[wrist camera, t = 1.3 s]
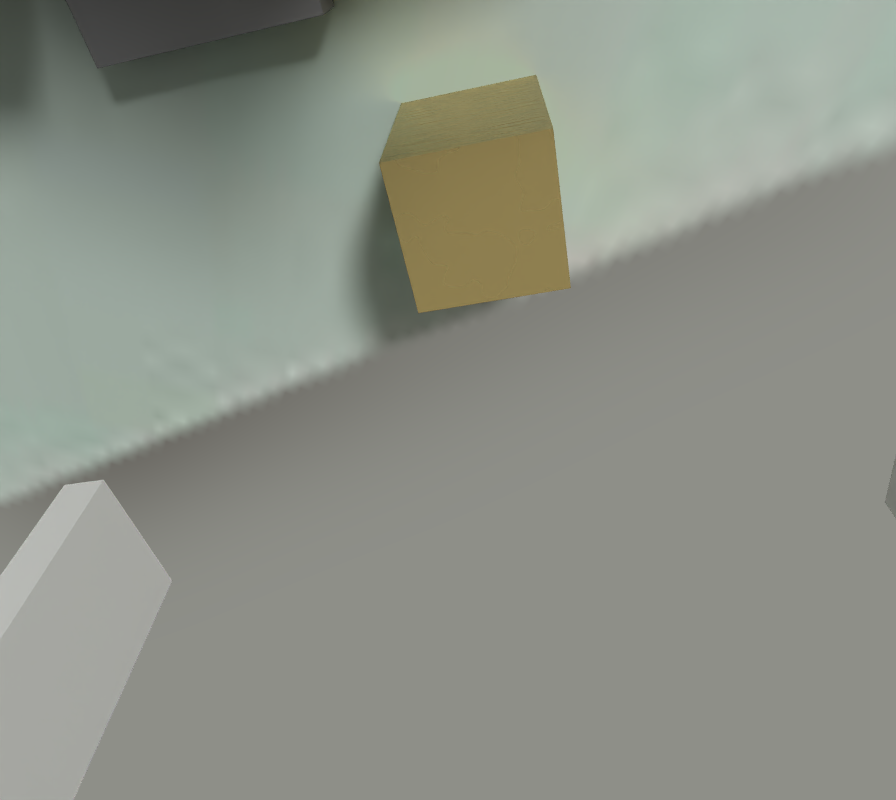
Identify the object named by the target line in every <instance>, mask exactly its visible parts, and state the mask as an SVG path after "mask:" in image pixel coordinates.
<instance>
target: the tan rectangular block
mask: <svg viewBox="0 0 896 800" xmlns="http://www.w3.org/2000/svg"><path fill="white" fill-rule="evenodd" d="M379 164H380V168H381V172H382V176H383V180H384V183H385V187H386V191H387V195H388V199H389V203H390V206H391V210H392V214H393V218H394V222H395V225H396V229H397V233H398V237H399V241H400V245H401V248H402V252H403V256H404V260H405V264H406V267H407V271H408V275H409V279H410V283H411V287H412V290H413V294H414V298H415V302H416V306H417V310H418V313H422V312H428V311H434V310H441V309H447V308H453V307H459V306H465V305H471V304H477V303H483V302H489V301H495V300H501V299H508V298H514V297H520V296H526V295H532V294H538V293H544V292H550V291H556V290H562V289H568V288H571V287H570V277H569V268H568V259H567V250H566V241H565V232H564V223H563V214H562V205H561V196H560V186H559V177H558V168H557V159H556V150H555V141H554V132H553V126H552V123H551V120H550V117H549V114H548V111H547V108H546V104H545V101H544V98H543V95H542V92H541V89H540V86H539V83H538V79H537V76H536V75H533V76H528V77H524V78H519V79H514V80H509V81H505V82H500V83H495V84H491V85H486V86H481V87H477V88H472V89H467V90H462V91H458V92H453V93H448V94H444V95H439V96H434V97H429V98H425V99H420V100H415V101H411V102H406V103H401V105H400V108H399V111H398V114H397V116H396V119H395V122H394V124H393V127H392V130H391V132H390V135H389V138H388V140H387V143H386V146H385V148H384V151H383V154H382V157H381V159H380V162H379Z"/></svg>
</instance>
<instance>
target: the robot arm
mask: <svg viewBox="0 0 896 800" xmlns="http://www.w3.org/2000/svg"><path fill="white" fill-rule="evenodd" d="M885 503H886V505H887V506H888V508H889V509H890V511H891V512H892V514H893V515H894V517H895V518H896V457H895V461H894V465H893V470H892V474H891V478H890V482H889V487H888V491H887V495H886V500H885ZM171 582H172V579H171V578H170V577H169V575H168V574H167V572H166V571H165V569H164V568H163V566H162V565H161V563H160V562H159V561H158V559H157V558H156V556H155V555H154V553H153V552H152V550H151V549H150V547H149V546H148V544H147V543H146V541H145V540H144V538H143V537H142V535H141V534H140V532H139V531H138V530H137V528H136V527H135V525H134V524H133V522H132V521H131V519H130V518H129V516H128V515H127V513H126V512H125V511H124V509H123V508H122V506H121V505H120V503H119V502H118V500H117V499H116V497H115V496H114V494H113V493H112V491H111V490H110V488H109V487H108V485H107V484H106V483H105V481H104V480H99V481H91V482H84V483H76V484H69V485H64V487H63V488H62V490H61V491H60V492H59V494H58V495H57V496H56V498H55V499H54V501H53V502H52V503H51V505H50V506H49V508H48V509H47V511H46V512H45V513H44V515H43V516H42V518H41V519H40V520H39V522H38V523H37V525H36V526H35V528H34V529H33V531H32V532H31V533H30V535H29V536H28V537H27V539H26V540H25V542H24V543H23V544H22V546H21V547H20V549H19V550H18V552H17V553H16V554H15V556H14V557H13V559H12V560H11V562H10V563H9V564H8V566H7V567H6V568H5V570H4V571H3V573H2V574H1V575H0V800H74V798H75V795H76V793H77V791H78V789H79V786H80V784H81V782H82V780H83V778H84V775H85V773H86V771H87V769H88V766H89V764H90V762H91V760H92V758H93V755H94V753H95V751H96V749H97V747H98V744H99V742H100V740H101V738H102V735H103V733H104V731H105V729H106V726H107V724H108V722H109V720H110V718H111V715H112V713H113V711H114V709H115V706H116V704H117V702H118V700H119V698H120V696H121V693H122V691H123V689H124V687H125V684H126V682H127V680H128V678H129V675H130V673H131V671H132V669H133V667H134V665H135V662H136V660H137V658H138V656H139V653H140V651H141V649H142V647H143V645H144V642H145V640H146V638H147V636H148V634H149V631H150V629H151V627H152V625H153V622H154V620H155V618H156V616H157V614H158V611H159V609H160V607H161V605H162V602H163V600H164V598H165V596H166V594H167V591H168V589H169V587H170V585H171Z"/></svg>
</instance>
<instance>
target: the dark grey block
mask: <svg viewBox="0 0 896 800" xmlns="http://www.w3.org/2000/svg"><path fill="white" fill-rule="evenodd" d="M66 2H67V4H68V6H69V8H70V10H71V12H72V15H73V17H74V19H75V21H76V23H77V25H78V27H79V30H80V32H81V34H82V36H83V38H84V40H85V43H86V45H87V47H88V49H89V51H90V53H91V55H92V58H93V60H94V62H95V64H96V66H97V68H101V67H105V66H110V65H114V64H118V63H122V62H126V61H131V60H135V59H139V58H143V57H147V56H152V55H156V54H160V53H164V52H169V51H173V50H177V49H181V48H185V47H190V46H194V45H198V44H202V43H206V42H211V41H215V40H219V39H223V38H228V37H232V36H236V35H240V34H244V33H249V32H253V31H257V30H261V29H265V28H270V27H274V26H278V25H282V24H287V23H291V22H295V21H299V20H303V19H308V18H312V17H316V16H320V15H324V14H325V13H326V12H328V11H329V10H330V9H332V8H333V7H334V4H333V1H332V0H66Z"/></svg>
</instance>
